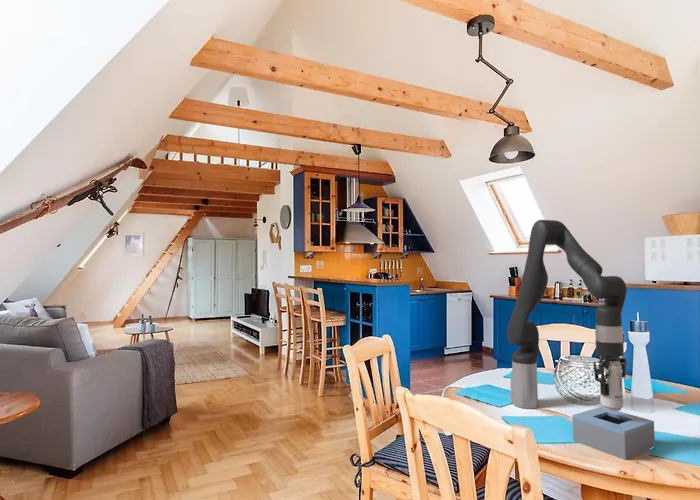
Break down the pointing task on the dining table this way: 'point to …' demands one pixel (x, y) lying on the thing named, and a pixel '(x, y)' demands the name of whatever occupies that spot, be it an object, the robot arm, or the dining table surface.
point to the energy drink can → (613, 388)
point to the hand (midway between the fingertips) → (611, 393)
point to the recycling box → (614, 432)
